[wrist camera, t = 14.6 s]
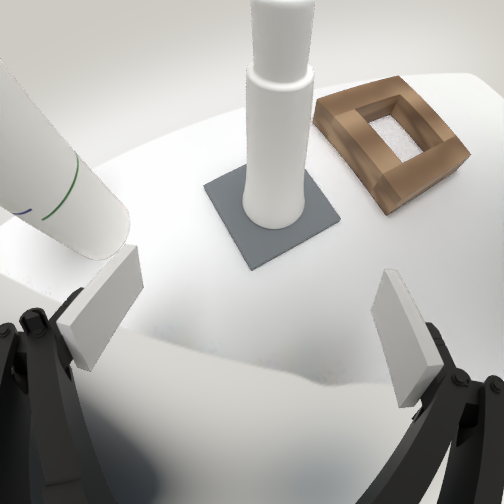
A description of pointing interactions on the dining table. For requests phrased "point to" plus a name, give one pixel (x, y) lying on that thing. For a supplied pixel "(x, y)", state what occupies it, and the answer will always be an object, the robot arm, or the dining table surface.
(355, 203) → the dining table surface
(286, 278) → the dining table surface
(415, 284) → the dining table surface
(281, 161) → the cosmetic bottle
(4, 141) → the cylindrical container
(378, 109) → the collar
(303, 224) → the mat
